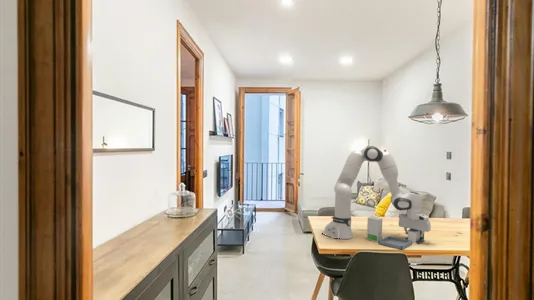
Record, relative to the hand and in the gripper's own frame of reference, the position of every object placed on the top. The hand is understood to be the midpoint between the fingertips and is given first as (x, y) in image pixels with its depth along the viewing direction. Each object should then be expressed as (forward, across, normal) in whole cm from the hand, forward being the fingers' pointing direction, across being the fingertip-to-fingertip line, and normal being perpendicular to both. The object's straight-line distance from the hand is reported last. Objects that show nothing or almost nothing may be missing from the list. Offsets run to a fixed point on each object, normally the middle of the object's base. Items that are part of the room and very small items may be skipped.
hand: (414, 235), depth 207 cm
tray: (+4, -6, -16) cm, 18 cm away
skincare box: (+4, -20, -17) cm, 27 cm away
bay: (+4, 0, 0) cm, 4 cm away
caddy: (+4, 0, 0) cm, 4 cm away
